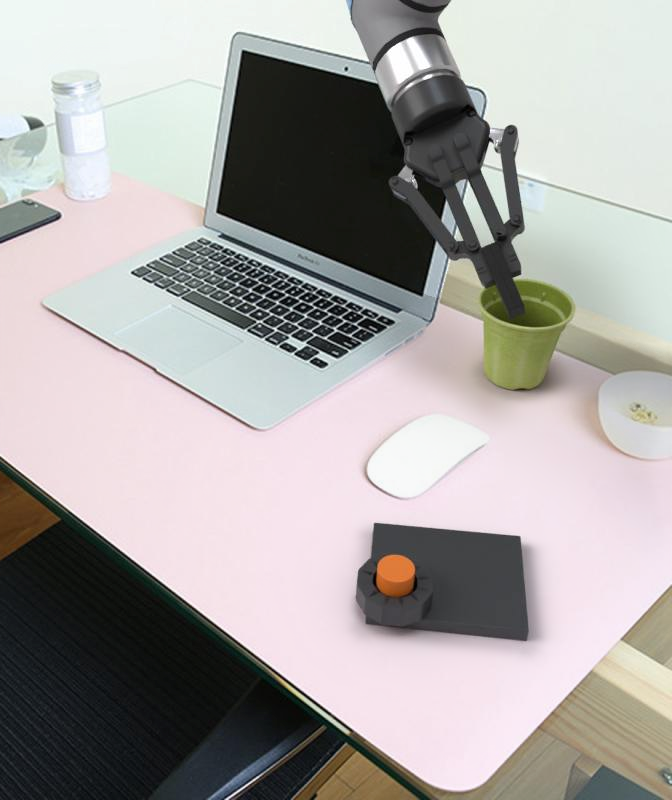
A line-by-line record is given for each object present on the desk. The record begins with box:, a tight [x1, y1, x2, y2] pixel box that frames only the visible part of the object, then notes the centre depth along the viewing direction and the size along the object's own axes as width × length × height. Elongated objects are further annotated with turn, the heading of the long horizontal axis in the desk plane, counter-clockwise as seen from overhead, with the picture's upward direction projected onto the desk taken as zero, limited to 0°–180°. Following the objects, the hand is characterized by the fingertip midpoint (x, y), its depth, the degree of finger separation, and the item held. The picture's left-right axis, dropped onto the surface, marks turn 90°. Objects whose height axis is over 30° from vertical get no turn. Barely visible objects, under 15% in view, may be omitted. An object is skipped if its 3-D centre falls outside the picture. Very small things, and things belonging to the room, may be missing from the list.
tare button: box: [376, 555, 415, 598], centre depth 72 cm, size 3×3×2 cm
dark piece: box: [355, 522, 530, 642], centre depth 74 cm, size 13×11×3 cm
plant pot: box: [477, 278, 576, 391], centre depth 96 cm, size 9×9×9 cm
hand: (516, 311), depth 86 cm, fingers closed
